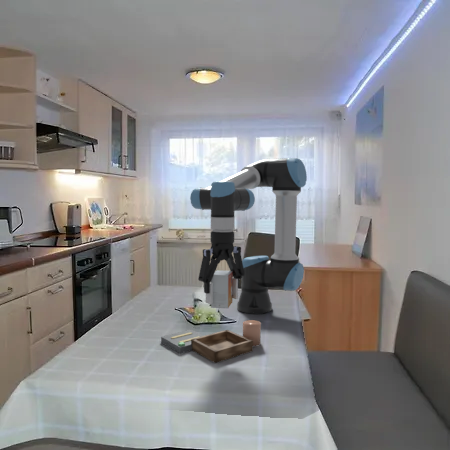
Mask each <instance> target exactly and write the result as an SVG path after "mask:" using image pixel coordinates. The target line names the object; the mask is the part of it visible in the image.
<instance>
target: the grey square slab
mask: <svg viewBox="0 0 450 450" xmlns="http://www.w3.org/2000/svg"><path fill="white" fill-rule="evenodd" d="M202 336H204V335H203V334H201V333H199V332H197V331H195V330H193V329H188V330H186V329H185V330H183V331H179V332H175V333H171V334H167V335H162V336H161V337H160V340H161V341H160V342H161V344H163V345H165V346H166V347H168V348H170V349H172V350H173V351H175V352H177V353H178V354H183V353H186V352H191V351H192V344H191V339H194V338H198V337H202Z"/></svg>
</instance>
